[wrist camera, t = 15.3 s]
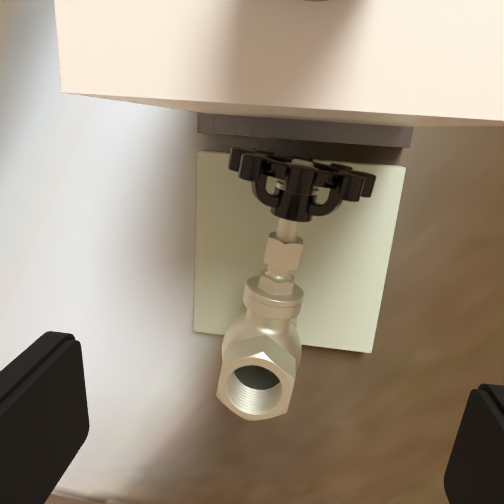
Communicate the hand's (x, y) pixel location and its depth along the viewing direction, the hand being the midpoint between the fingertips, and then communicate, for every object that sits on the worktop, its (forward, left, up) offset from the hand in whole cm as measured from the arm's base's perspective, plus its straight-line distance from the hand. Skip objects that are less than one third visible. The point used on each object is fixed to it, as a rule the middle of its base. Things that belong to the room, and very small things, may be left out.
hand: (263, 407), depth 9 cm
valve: (+1, 0, -14) cm, 14 cm away
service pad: (+1, 0, -15) cm, 15 cm away
